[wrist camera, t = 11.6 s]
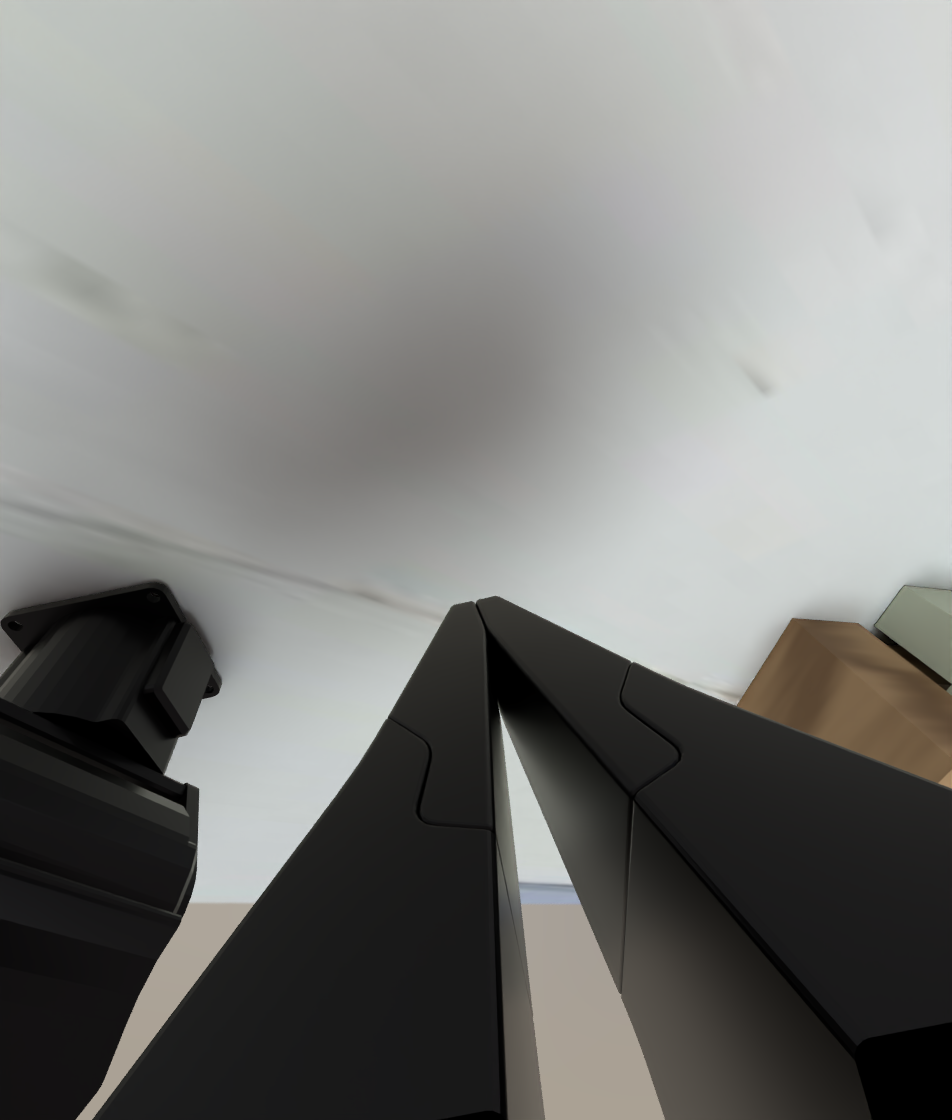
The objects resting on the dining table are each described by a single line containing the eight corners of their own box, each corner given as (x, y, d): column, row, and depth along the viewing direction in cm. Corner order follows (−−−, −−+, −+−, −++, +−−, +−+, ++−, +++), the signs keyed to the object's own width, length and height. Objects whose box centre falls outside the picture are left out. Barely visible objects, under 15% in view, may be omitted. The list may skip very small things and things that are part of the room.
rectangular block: (724, 725, 34) (839, 881, 26) (792, 618, 30) (957, 763, 21) (872, 726, 37) (1017, 865, 29) (953, 630, 33) (1150, 760, 25)
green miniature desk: (774, 760, 37) (844, 848, 32) (909, 578, 30) (1030, 652, 24) (868, 759, 40) (947, 840, 34) (1015, 590, 32) (1147, 660, 27)
